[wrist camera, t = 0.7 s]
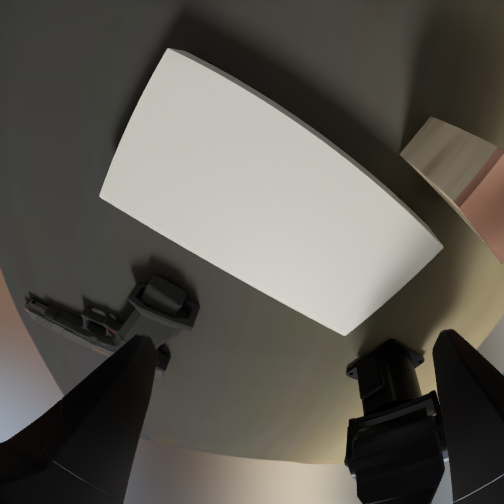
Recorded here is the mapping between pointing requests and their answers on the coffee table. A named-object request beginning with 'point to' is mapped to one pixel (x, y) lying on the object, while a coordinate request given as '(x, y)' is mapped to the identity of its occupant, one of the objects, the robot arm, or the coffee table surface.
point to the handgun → (139, 322)
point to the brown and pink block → (463, 177)
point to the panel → (263, 196)
